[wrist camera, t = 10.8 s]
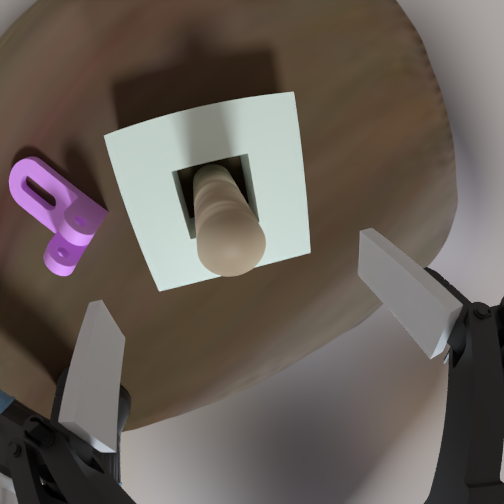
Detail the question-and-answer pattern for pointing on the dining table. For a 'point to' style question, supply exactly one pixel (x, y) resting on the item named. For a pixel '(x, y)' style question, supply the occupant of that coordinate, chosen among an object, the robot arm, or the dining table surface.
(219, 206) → the peg
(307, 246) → the socket block
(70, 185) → the bracket
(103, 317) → the robot arm
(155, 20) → the dining table surface
